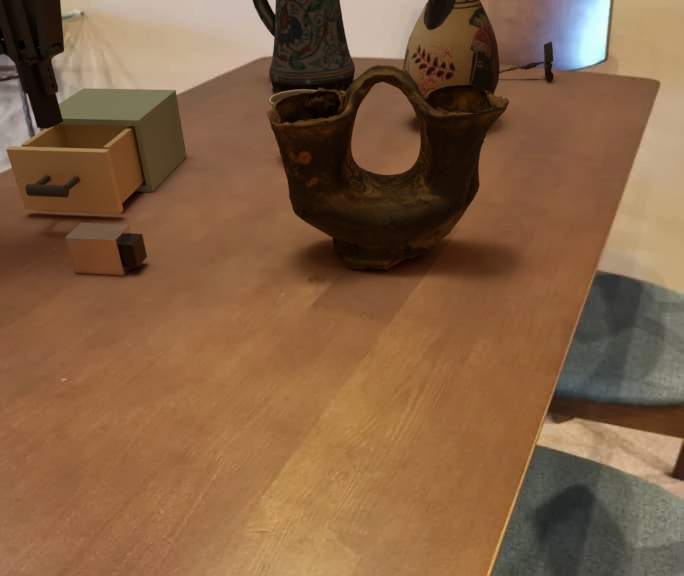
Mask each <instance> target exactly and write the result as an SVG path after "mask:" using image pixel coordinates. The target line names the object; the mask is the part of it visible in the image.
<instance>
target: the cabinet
mask: <svg viewBox="0 0 684 576" xmlns="http://www.w3.org/2000/svg"><path fill="white" fill-rule="evenodd" d="M58 104H59V107H60V111H61V115H62V119H63V122H62V123H60V124H65V125H104V126H134V127H135V132H136V137H137V142H138V147H139V152H140V156H141V161H142V166H143V171H144V176H145V181H144V182H143V183H142V184H141V185H140V186H139V187H138V188H137V189H136V190H135V191H134V192H142V193H153V192H154V191H155V190H157V188H159V186H160V185H161V184H162V183H163V182H164V181H165V180H166V179H167V178H168V177H169V176H170V175H171V174H172V173H173V172H174V170H175V169H176V168H177V167H178V166H179V165H181V163H182V162H183V161H184V160H185V159H186V158H187V152H186V146H185V137H184V133H183V132H184V131H183V126H182V121H181V114H180V109H179V102H178V97H177V91H176V89H142V88H141V89H140V88H91V87H90V88H88V87H86V88H85V87H83V88H82V89H80V90H78V91H77V92H75V93H74V94H71V96H69V97H67V98H65V99H64V100H63V101H60V103H59V102H58ZM44 129H45V128H39V130H40V131H39V132H41V131H42V130H44Z"/></svg>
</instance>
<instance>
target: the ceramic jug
mask: <svg viewBox="0 0 684 576" xmlns="http://www.w3.org/2000/svg"><path fill="white" fill-rule="evenodd" d="M498 46H499V45H498V41H497V37H496V34H495V31H494V28H493V25H492V23H491V21H490V19H489V16H488V15H487V12H486V9H485V7H484V5H483V3H482V1H481V0H427V2H426V3H425V4H424V7H423V8H422V11H421V13H420V14H419V16H418V18H417V20H416V22H415V24H414V26H413V28H412V30H411V33H410V35H409V37H408V41H407V44H406V48H405V53H404V58H403V65H402V70H403V71H405V72H407V73H409V74H410V75H411V77H412V78H413V79H414V81H415V82H416V83H417V85H418V87H419V89H420V91H421V93H422V95H423V96H425V95H426V94H427V93H428V92H429V91H431V90H434V89H438V88H443V87H447V86H456V85H463V84H468V85H471V86H475V87H481V88H483V89H485V90H486V91H488V92H491V93H492V94H493V95H494V96H495V92H496V89H497V87H498V84H499V80H500V74H499V72H500V71H501V70H500V69H501V67H500V55H499V47H498ZM487 94H490V93H487ZM406 99H407V101H408V102H409V99H408V97H406Z"/></svg>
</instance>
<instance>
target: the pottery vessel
mask: <svg viewBox="0 0 684 576" xmlns="http://www.w3.org/2000/svg"><path fill="white" fill-rule="evenodd" d="M380 83H385V84H388V85H389V86H392V87H394V88H397V89H398V90H400V91H401V93H402V95H404V96H405V97H406V98H407V97H408V99H409V101H408V102H409V103H410V105H411V106H412V108H413V111H414V114H415V116H416V119H417V123H418V128H419V135H420V136H419V137H420V145H419V153H418V156H417V158H416V161H415V162H414V163H413V165H412V166H411V167H410V168H409V169H407V170H406V171H403V172H400V173H395V174H381V173H375V172H372V171H370V170H367V169H364V168H362V167H361V166H359V165H358V164H357V162H356V161H355V159H354V156H353V152H352V139H353V132H354V128H355V122H356V118H357V114H358V111H359V108H360V106H361V104H362V103H363V101H364V100H365V98H366V97H367V96H368V94H369V93H370V91H371V89H372V88H373V87H374V86H375V85H377V84H380ZM487 93H490V94H487ZM408 99H407V100H408ZM273 104H274V105H273V107H272V106H271V109H270V110H268V111H266V116H267V118H268V120H269V123H270V130H272V132H273V135H274V137H275V141H276V144H277V147H278V150H279V154H280V157H281V161H282V165H283V169H284V173H285V177H286V179H287V186H288V187H287V188H288V198H289V201H290V204H291V209H292V211H293V213H294V214H295V216H297V217H298V218H299V219H300V220H302V221H303V222H305V223H306V224H307V225H310V226H311V227H313V228H315V229H316V230H318V231H320V232H321V233H323V234H325V235H327V236H328V237H330V238H332V245H333V246H332V247H333V248H332V254H333V255H336V254H337V253H340V252H341V254H342V258H341V260H343V261H344V262H345V263H346V265H347V266H348V267H349V268H350V269H360V270H361V269H362V270H363V269H367V268H370V269H379V270H387V271H388V270H389V269H390V268H391V267H393V266H395V265H397V264H398V263H400V262H402V261H404V260H406V259H413V258H416V257H418V256H420V255H423V256H426V255H427V254H429V253H431V252H432V251H433V250H435V246H437V245H439V243H440V242H441V241H442V240H443V239H445V237H447V236H448V235H449V234H451V232H452V231H453V229H454V228H455V227H456V225H457V224H458V223H459V222H460V220H461V219H462V217H463V216H464V215H465V213H466V211H467V210H468V208H469V207H470V205H471V204H472V202H473V201H474V200H475V198H476V195H477V194H478V191H479V189H480V185H481V184H480V174H479V172H480V171H479V167H480V158H481V157H480V156H481V152H482V147H483V145H484V143H485V139H486V137H487V134H488V132H489V131H490V129H491V128H492V127H493V126H494V124H495V123H496V122H497V120H498V119H499V118H500V117H501V116H502V115H504V113H505V112H506V110H507V109H508V105H509V104H510V100H509V98H508V97H506V98H505V97H504V98H503V95H500V96H496V95H495V94H494V95H493V94H492V93H491V92H488V91H486V90H485V89H483V88H481V87H475V86H471V85H468V84H463V85H456V86H447V87H443V88H438V89H434V90H431V91H429V92H428V93H427V94H426V95H425V96H423V95H422V93H421V91H420V89H419V87H418V85H417V83H416V82H415V81H414V79H413V78H412V77H411V75H410V74H409V73H407V72H405V71H403V69H400V68H399V67H396V66H394V65H390V64H386V65H383V64H382V65H381V64H376V65H373V66H371V67H369V68H367V69H366V70H365V71H364V72H363V73H361V74H360V75H359V76H357V78H356V79H355V80H354V82H353V83H352V84H351V85H350V87H349V88H348V89H347V91H346V92H344V91H343V90H342V91H338V90H334V89H332V90H327V89H324V88H318V90H316V91H314V92H304V93H299V94H296V95H293V96H289V97H286V98H283V99H280V100H278V101H275V102H274V103H273Z"/></svg>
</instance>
